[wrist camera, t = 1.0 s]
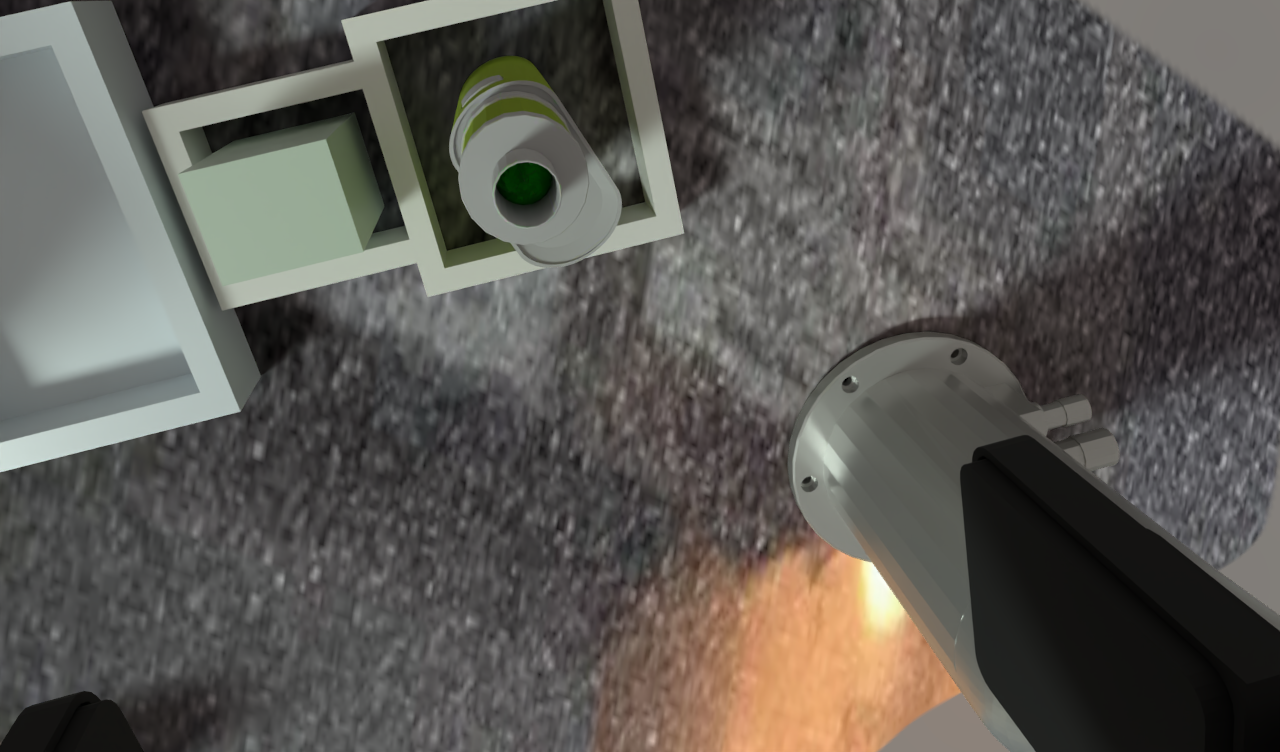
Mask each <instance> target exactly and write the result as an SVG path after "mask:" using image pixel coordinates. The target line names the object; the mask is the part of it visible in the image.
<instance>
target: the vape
mask: <svg viewBox="0 0 1280 752" xmlns="http://www.w3.org/2000/svg"><path fill="white" fill-rule="evenodd" d="M449 153H450V157H451V161H452V163H453V165H454V167H455V168H456V170H457V171H458V173H459V176H458V181H459V187H460V192H461V198H462V201H463V203H464V205H465V207H466V209H467V211H468V212H469V214H470V216H471V218H472V219H473V220H474V221H475V222H476V223H477V224H478V225H479V226H480V227H481V228H482V229H483V230H484V231H485V232H486V233H488V234H490V235H492V236H494V237H496V238H498V239H500V240H502V241H504V242H510V243H511V244H512V246H513V247H514V248H515V250H516V251H517V252H518V254H519V255H520V257H521V258H522V259H524V260H525V261H526V262H528V263H530V264H532V265H535V266H538V267H544V268H557V267H563V266H567V265H570V264H573V263H576V262H578V261H580V260H582V259H584V258H586V257H588V256H589V255H591V254H592V253H594V252H595V251H596V250H597V249H599V248H600V247H601V246H602V245H603V244H604V243H605V242H606V241H607V239H608V238H609V237H610V236H611V234H612V233H613V231H614V230H615V228H616V226H617V224H618V221H619V219H620V215H621V209H622V200H621V195H620V192H619V190H618V188H617V187H616V185H615V184H614V182H613V181H612V179H611V177H610V176H609V174H608V173H607V171H606V170H605V168H604V167H603V165H602V164H601V162H600V161H599V159H598V158H597V156H596V155H595V153H594V152H593V150H592V148H591V147H590V145H589V144H588V142H587V141H586V139H585V138H584V136H583V135H582V133H581V132H580V130H579V129H578V127H577V126H576V124H575V122H574V121H573V119H572V118H571V116H570V115H569V113H568V112H567V110H566V109H565V107H564V106H563V104H562V103H561V101H560V100H559V98H558V97H557V95H556V94H555V93H554V91H553V90H552V89H551V87H550V86H549V84H548V83H547V82H546V80H545V79H544V78H543V76H542V75H541V74H540V72H539V71H538V70H537V68H536V67H535V66H534V64H532V63H531V62H530V61H529V60H527V59H525V58H523V57H519V56H502V57H497V58H494V59H492V60H490V61H487V62H486V63H484V64H482V65H481V66H479V67H478V68H477V69H476V70H475V71H474V72H473V73H472V74H471V75H470V76H469V77H468V78H467V80H466V81H465V83H464V85H463V87H462V89H461V92H460V95H459V100H458V104H457V109H456V113H455V118H454V122H453V127H452V131H451V136H450V141H449Z"/></svg>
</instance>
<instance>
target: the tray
mask: <svg viewBox="0 0 1280 752" xmlns="http://www.w3.org/2000/svg"><path fill="white" fill-rule="evenodd" d="M152 107H154V106H153V104H152V101H151V99H150V96H149V94H148V91H147V89H146V86H145V84H144V81H143V79H142V76H141V74H140V71H139V68H138V66H137V63H136V61H135V58H134V56H133V53H132V51H131V48H130V46H129V43H128V41H127V38H126V36H125V33H124V31H123V28H122V26H121V23H120V21H119V18H118V16H117V13H116V11H115V8H114V6H113V3H112V1H70V2H65V3H61V4H56V5H52V6H47V7H43V8H38V9H34V10H29V11H25V12H21V13H16V14H12V15H7V16H3V17H0V472H3V471H7V470H11V469H15V468H18V467H22V466H26V465H30V464H34V463H38V462H42V461H46V460H50V459H54V458H58V457H62V456H66V455H70V454H74V453H78V452H82V451H86V450H90V449H94V448H98V447H102V446H106V445H110V444H114V443H118V442H122V441H126V440H129V439H133V438H137V437H141V436H145V435H149V434H153V433H157V432H161V431H165V430H169V429H173V428H177V427H181V426H185V425H189V424H193V423H197V422H201V421H205V420H209V419H213V418H217V417H221V416H225V415H229V414H233V413H237V412H240V411H241V410H242V408H243V406H244V405H245V403H246V401H247V399H248V398H249V396H250V394H251V392H252V391H253V389H254V387H255V386H256V384H257V382H258V380H259V379H260V377H261V375H260V372H259V370H258V367H257V365H256V362H255V360H254V357H253V355H252V352H251V350H250V347H249V345H248V342H247V340H246V337H245V335H244V332H243V330H242V327H241V325H240V322H239V320H238V317H237V315H236V312H235V310H234V308H231V309H227V310H223V311H222V309H221V307H220V304H219V302H218V299H217V297H216V294H215V292H214V289H213V287H212V284H211V282H210V279H209V277H208V274H207V272H206V270H205V267H204V265H203V262H202V260H201V257H200V255H199V252H198V250H197V247H196V245H195V242H194V240H193V237H192V235H191V232H190V230H189V227H188V225H187V222H186V220H185V218H184V215H183V213H182V210H181V208H180V205H179V203H178V200H177V198H176V195H175V193H174V190H173V188H172V185H171V183H170V180H169V178H168V175H167V173H166V170H165V168H164V166H163V163H162V161H161V158H160V156H159V153H158V151H157V148H156V146H155V143H154V141H153V138H152V136H151V133H150V131H149V128H148V126H147V123H146V121H145V118H144V116H143V114H142V111H143V110H146V109H149V108H152Z"/></svg>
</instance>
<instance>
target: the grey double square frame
mask: <svg viewBox="0 0 1280 752" xmlns="http://www.w3.org/2000/svg"><path fill="white" fill-rule="evenodd" d="M552 1H556V0H427V1H423V2H419V3H414V4H410V5H406V6H401V7H397V8H393V9H388V10H384V11H379V12H375V13H371V14H366V15H362V16H358V17H353V18H349V19H345V20H341V22H342V25H343V28H344V31H345V34H346V38H347V41H348V44H349V47H350V50H351V54H352V57H353V60H348V61H344V62H340V63H335V64H331V65H327V66H322V67H318V68H314V69H310V70H305V71H301V72H297V73H292V74H288V75H284V76H279V77H275V78H271V79H266V80H262V81H258V82H253V83H249V84H245V85H241V86H236V87H232V88H228V89H223V90H219V91H215V92H210V93H206V94H202V95H197V96H193V97H189V98H184V99H180V100H176V101H171V102H167V103H164V104H161V105H158V106H155V107H152V108H149V109H146V110H143V111H142V114H143V116H144V118H145V121H146V123H147V126H148V128H149V131H150V133H151V136H152V138H153V141H154V143H155V146H156V148H157V151H158V153H159V156H160V158H161V161H162V163H163V166H164V168H165V170H166V173H167V175H168V178H169V180H170V183H171V185H172V188H173V190H174V193H175V195H176V198H177V200H178V203H179V205H180V208H181V210H182V213H183V215H184V218H185V220H186V222H187V225H188V227H189V230H190V232H191V235H192V237H193V240H194V242H195V245H196V247H197V250H198V252H199V255H200V257H201V260H202V262H203V265H204V267H205V270H206V272H207V274H208V277H209V279H210V282H211V284H212V287H213V289H214V292H215V294H216V297H217V299H218V302H219V304H220V307H221V309H222V311H223V310H227V309H231V308H235V307H239V306H243V305H247V304H251V303H256V302H260V301H264V300H268V299H272V298H276V297H280V296H284V295H288V294H292V293H296V292H300V291H304V290H308V289H313V288H317V287H321V286H325V285H329V284H333V283H337V282H341V281H345V280H349V279H353V278H357V277H361V276H365V275H370V274H374V273H378V272H382V271H386V270H390V269H394V268H398V267H402V266H406V265H410V264H414V263H417V264H418V268H419V271H420V274H421V277H422V280H423V284H424V287H425V290H426V293H427V296H428V297H430V296H434V295H438V294H442V293H446V292H450V291H454V290H458V289H462V288H466V287H470V286H474V285H478V284H482V283H486V282H490V281H494V280H499V279H503V278H507V277H511V276H515V275H519V274H523V273H527V272H531V271H535V270H539V269H543V268H544V267H538V266H535V265H532V264H530V263H528V262H526V261H525V260H524V259H522V258H521V257H520V255H519V254H518V252H517V251H516V250H515V248H514V247H513V246H512V244H511V243H510V242H504V241H502V240H500V239H498V238H497V239H492V240H488V241H484V242H480V243H476V244H472V245H468V246H464V247H460V248H456V249H452V250H448V251H447V249H446V246H445V243H444V239H443V236H442V233H441V229H440V226H439V223H438V219H437V216H436V212H435V209H434V206H433V202H432V199H431V196H430V192H429V189H428V186H427V182H426V179H425V176H424V172H423V169H422V166H421V162H420V159H419V156H418V152H417V149H416V146H415V142H414V139H413V136H412V132H411V129H410V125H409V122H408V119H407V115H406V112H405V109H404V105H403V102H402V99H401V95H400V92H399V89H398V85H397V82H396V79H395V75H394V72H393V69H392V65H391V62H390V59H389V55H388V52H387V49H386V45H385V42H384V40H387V39H392V38H396V37H400V36H404V35H409V34H413V33H417V32H422V31H426V30H430V29H435V28H439V27H443V26H448V25H452V24H456V23H461V22H465V21H469V20H474V19H478V18H482V17H487V16H491V15H495V14H500V13H504V12H508V11H513V10H517V9H521V8H526V7H530V6H534V5H539V4H543V3H547V2H552ZM603 4H604V9H605V14H606V19H607V23H608V28H609V33H610V38H611V42H612V47H613V52H614V56H615V61H616V66H617V71H618V75H619V80H620V85H621V90H622V94H623V99H624V104H625V109H626V113H627V118H628V123H629V128H630V132H631V137H632V142H633V147H634V151H635V156H636V161H637V165H638V170H639V175H640V180H641V184H642V189H643V194H644V199H645V202H643V203H639V204H635V205H631V206H627V207H623V208H622V209H621V215H620V219H619V221H618V224H617V226H616V228H615V230H614V231H613V233H612V234H611V236H610V237H609V238H608V239H607V241H606V242H605V243H604V244H603V245H602V246H601V247H600V248H599V249H597V250H596V251H595V252H594V253H592V254H591V255H589V256H588V257H591V256H595V255H599V254H603V253H607V252H611V251H615V250H619V249H624V248H628V247H632V246H636V245H640V244H644V243H648V242H652V241H656V240H660V239H664V238H668V237H672V236H676V235H680V234H684V230H683V225H682V220H681V215H680V210H679V205H678V200H677V195H676V190H675V185H674V180H673V175H672V170H671V164H670V159H669V154H668V149H667V144H666V139H665V134H664V129H663V124H662V119H661V114H660V109H659V104H658V99H657V94H656V89H655V83H654V78H653V73H652V68H651V63H650V58H649V53H648V48H647V43H646V38H645V33H644V28H643V23H642V18H641V13H640V8H639V2H638V0H603ZM360 89H363V92H364V95H365V98H366V102H367V105H368V108H369V111H370V114H371V118H372V121H373V124H374V127H375V130H376V134H377V137H378V140H379V143H380V146H381V149H382V153H383V156H384V159H385V162H386V165H387V169H388V172H389V175H390V178H391V181H392V185H393V188H394V191H395V194H396V197H397V201H398V204H399V207H400V210H401V213H402V217H403V220H404V223H405V226H401V227H397V228H393V229H389V230H385V231H381V232H377V233H372V235H371V237H370V239H369V241H368V243H367V246H366V248H365V250H364V252H362V253H357V254H353V255H349V256H345V257H341V258H337V259H333V260H329V261H325V262H321V263H316V264H312V265H308V266H304V267H300V268H296V269H292V270H288V271H284V272H280V273H275V274H271V275H267V276H263V277H259V278H255V279H251V280H247V281H243V282H239V283H234V284H230V285H226V286H222V284H221V281H220V279H219V276H218V274H217V271H216V269H215V266H214V264H213V261H212V259H211V256H210V254H209V251H208V249H207V246H206V244H205V241H204V239H203V236H202V234H201V231H200V229H199V226H198V224H197V221H196V219H195V216H194V214H193V211H192V209H191V206H190V204H189V201H188V199H187V196H186V194H185V191H184V189H183V186H182V184H181V181H180V179H179V176H178V174H179V173H181V172H182V171H184V170H186V169H187V168H189V167H191V166H192V165H194V164H196V163H197V162H199V161H201V160H203V159H204V158H206V157H208V156H209V155H211V154H212V151H211V149H210V146H209V144H208V141H207V138H206V136H205V133H204V130H203V128H202V126H206V125H210V124H214V123H219V122H223V121H227V120H231V119H236V118H240V117H244V116H248V115H253V114H257V113H261V112H266V111H270V110H274V109H278V108H283V107H287V106H291V105H295V104H300V103H304V102H308V101H313V100H317V99H321V98H325V97H330V96H334V95H338V94H343V93H347V92H351V91H355V90H360ZM586 258H587V257H586Z"/></svg>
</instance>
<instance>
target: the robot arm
mask: <svg viewBox="0 0 1280 752" xmlns="http://www.w3.org/2000/svg"><path fill="white" fill-rule="evenodd" d="M954 350H955V351H954ZM953 351H954V352H953ZM952 352H953V354H952ZM848 377H849V378H848ZM846 378H848V380H847V381H846V382H843V381H844V380H845V379H846ZM1091 416H1092V410H1091V406H1090V403H1089V401H1088V399H1087V398H1086V397H1085V396H1084V395H1082V394H1077V395H1073V396H1070V397H1066V398H1062V399H1058V400H1055V401H1054V402H1052V403H1048V404H1045V405H1041V406H1040V405H1039V404H1038V403H1036V402H1030V401H1029V400H1027V398H1026V395H1025V393H1024V391H1023V389H1022V387H1021V385H1020V383H1019V381H1018V379H1017V378H1016V377H1015V375H1014V374H1013V373H1012V372H1011V370H1010V369H1009V368H1008V367H1007V365H1006V364H1004V363H1003V362H1002V361H1001V360H999V359H998V358H997V357H996V356H994V355H993V354H992V353H991V352H989V351H987V350H986V349H984V348H983V347H981V346H979V345H978V344H976V343H974V342H973V341H970V340H967V339H964V338H962V337H959V336H956V335H953V334H946V333H938V332H930V331H929V332H915V333H905V334H901V335H897V336H893V337H889V338H885V339H882V340H880V341H877V342H875V343H873V344H871V345H869V346H866V347H864V348H862V349H860V350H858V351H857V352H855V353H854V354H852V355H851V356H849V357H848V358H847V359H845V360H844V361H842V362H841V363H839V364H838V365H837V366H836V367H835V368H834V369H833V370H832V371H831V372H830V373H829V374H828V375H826V376H825V377H824V378H823V379H822V380H821V381H820V383H819V384H818V385H817V387H816V388H815V389H814V391H813V392H812V393H811V395H810V396H809V397H808V399H807V400H806V402H805V404H804V406H803V408H802V410H801V412H800V414H799V416H798V418H797V420H796V422H795V426H794V429H793V433H792V436H791V439H790V443H789V454H788V473H789V481H790V487H791V490H792V493H793V495H794V498H795V501H796V504H797V506H798V507H799V509H800V511H801V512H802V514H803V516H804V518H805V519H806V521H807V522H808V524H809V525H810V526H811V527H812V529H813V530H814V531H815V532H816V534H817V535H818V536H819V537H820V538H822V539H823V540H824V541H825V542H827V543H828V544H829V545H830V546H832V547H833V548H834V549H837V550H839V551H841V552H843V553H845V554H847V555H849V556H851V557H853V558H857V559H860V560H864V561H868V562H872V563H873V564H874V566H875V567H876V569H877V570H878V572H879V573H880V574H881V576H882V577H883V579H884V580H885V582H886V583H887V585H888V586H889V588H890V589H891V590H892V592H893V593H894V595H895V596H896V598H897V599H898V601H899V602H900V604H901V605H902V606H903V608H904V609H905V611H906V612H907V614H908V615H909V617H910V618H911V620H912V621H913V622H914V624H915V625H916V627H917V628H918V630H919V631H920V633H921V634H922V636H923V637H924V638H925V640H926V641H927V643H928V644H929V646H930V647H931V649H932V650H933V652H934V653H935V654H936V656H937V657H938V659H939V660H940V662H941V663H942V665H943V666H944V668H945V669H946V670H947V672H948V673H949V675H950V676H951V678H952V679H953V681H954V682H955V684H956V685H957V686H958V688H959V689H960V691H961V692H962V694H963V695H964V697H965V698H966V700H967V701H968V702H969V704H970V705H971V707H972V708H973V709H974V711H975V712H976V714H977V715H978V716H979V718H980V720H981V721H982V722H983V723H984V725H985V726H986V727H987V729H988V730H989V731H990V732H991V733H992V734H993V736H994V737H995V738H996V739H997V740H998V741H999V742H1000V743H1001V744H1002V745H1004V746H1005V747H1006V748H1007V749H1008V750H1009V751H1010V752H1280V615H1278V614H1277V613H1276V612H1275V611H1273V610H1272V609H1270V608H1269V607H1268V606H1266V605H1265V604H1263V603H1262V602H1261V601H1259V600H1258V599H1256V598H1255V597H1254V596H1252V595H1251V594H1250V593H1248V592H1247V591H1245V590H1244V589H1243V588H1241V587H1240V586H1239V585H1237V584H1236V583H1234V582H1233V581H1232V580H1230V579H1229V578H1227V577H1226V576H1225V575H1223V574H1222V573H1220V572H1219V571H1218V570H1216V569H1215V568H1214V567H1212V566H1211V565H1210V564H1208V563H1207V562H1206V561H1205V560H1203V559H1202V558H1201V557H1199V556H1198V555H1197V554H1195V553H1194V552H1193V551H1192V550H1190V549H1189V548H1188V547H1186V546H1185V545H1184V544H1183V543H1181V542H1180V541H1179V540H1178V539H1176V538H1175V537H1174V536H1172V535H1171V534H1170V533H1168V532H1167V531H1166V530H1165V529H1163V528H1162V527H1161V526H1160V525H1158V524H1157V523H1156V522H1154V521H1153V520H1152V519H1151V518H1149V517H1148V516H1147V515H1146V514H1144V513H1143V512H1142V511H1140V510H1139V509H1138V508H1137V507H1135V506H1134V505H1133V504H1131V503H1130V502H1129V501H1128V500H1126V499H1125V498H1124V497H1123V496H1121V495H1120V494H1119V493H1117V492H1116V491H1115V490H1114V489H1112V488H1111V487H1110V486H1109V485H1107V484H1106V483H1105V482H1103V481H1102V480H1101V479H1100V478H1098V477H1097V476H1096V475H1094V474H1093V473H1092V472H1091V471H1093V470H1097V469H1101V468H1105V467H1108V466H1112V465H1116V464H1117V462H1118V461H1119V448H1118V444H1117V442H1116V440H1115V438H1114V436H1113V434H1112V433H1111V432H1110V431H1109V430H1108V429H1105V428H1098V429H1095V430H1091V431H1087V432H1084V433H1080V434H1076V435H1072V436H1069V437H1068V438H1066V439H1064V440H1061V441H1057V442H1052V441H1051V440H1050V439H1049V438H1047V437H1046V436H1047V432H1048V430H1051V429H1055V428H1059V427H1068V426H1072V425H1075V424H1079V423H1083V422H1087V421H1089V420H1090V419H1091ZM806 477H807V479H805V478H806ZM804 479H805V480H804ZM0 752H144V751H143V750H142V748H141V746H140V744H139V742H138V741H137V739H136V737H135V735H134V733H133V731H132V730H131V728H130V726H129V724H128V722H127V721H126V719H125V717H124V715H123V713H122V712H121V710H120V708H119V707H118V706H117V704H116V703H114V702H113V701H112V700H103V701H100V699H99V698H98V697H97V696H96V695H94V694H93V693H92V692H86V691H83V692H79V693H75V694H72V695H68V696H64V697H61V698H57V699H53V700H50V701H46V702H42V703H39V704H35V705H32V706H30V707H27V708H25V709H24V710H23V711H22V713H21V714H20V715H19V716H18V718H17V719H16V721H15V722H14V724H13V726H12V727H11V729H10V731H9V732H8V734H7V735H6V737H5V739H4V740H3V742H2V743H1V745H0Z"/></svg>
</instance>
